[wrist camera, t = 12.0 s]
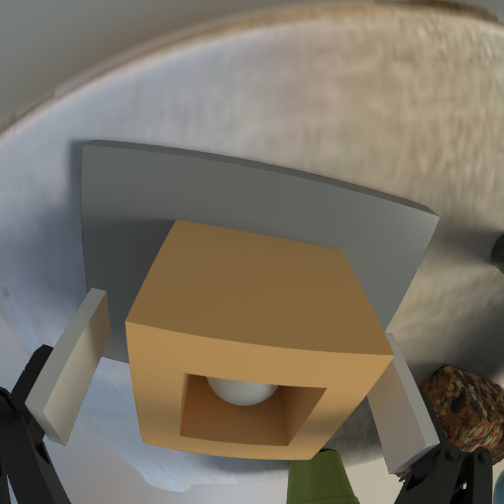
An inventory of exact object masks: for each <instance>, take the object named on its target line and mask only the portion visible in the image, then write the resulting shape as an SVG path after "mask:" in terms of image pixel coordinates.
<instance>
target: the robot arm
mask: <svg viewBox="0 0 504 504" xmlns="http://www.w3.org/2000/svg"><path fill="white" fill-rule="evenodd" d="M385 335H386V337H387V339H388V341H389V344H390V346H391V348H392V350H393V352H394V354H395V356H394V357H393V359H392V360H391V362H390V363H389V365H388V366H387V367H386V369H385V370H384V372H383V373H382V375H381V376H380V377H379V379H378V380H377V381H376V383H375V384H374V385H373V387H372V388H371V389H370V391H369V392H368V393H367V398H368V401H369V404H370V408H371V411H372V414H373V418H374V421H375V424H376V428H377V431H378V435H379V438H380V442H381V445H382V449H383V453H384V456H385V460H386V464H387V468H388V472H389V474H393V473H398V472H403V471H404V470H405V469H407V468H408V467H410V466H411V469H412V471H410V472H409V473H407V474H406V475H404V476H403V477H401V479H400V480H399V482H401V481H403V480H404V479H406V480H405V482H403V487H402V489H401V491H400V493H399V495H398V497H397V499H396V501H395V503H394V504H492V485H493V484H492V483H493V480H492V479H493V476H492V475H493V474H492V472H493V471H492V456H491V453H490V451H489V450H488V449H487V448H485V447H483V446H480V447H478V448H476V449H475V450H474V451H473V452H466V451H461V450H460V448H459V447H458V446H457V445H455V444H452V443H449V442H448V440H447V437H446V435H445V432H444V430H443V428H442V425H441V423H440V420H439V418H438V417H437V413H436V411H435V410H434V406H433V404H432V402H431V399H430V398H429V397H428V396H427V395H426V394H425V392H419V390H418V388H417V385H416V383H415V381H414V379H413V376H412V374H411V372H410V370H409V368H408V365H407V363H406V361H405V359H404V357H403V355H402V353H401V351H400V349H399V346H398V344H397V342H396V340H395V338H394V336H393V334H392V333H385ZM110 336H111V327H110V319H109V311H108V301H107V291H104V290H100V289H95V288H91V290H90V291H89V293H88V294H87V296H86V297H85V299H84V300H83V302H82V303H81V305H80V307H79V308H78V310H77V311H76V313H75V314H74V316H73V318H72V319H71V321H70V322H69V324H68V326H67V327H66V329H65V330H64V332H63V334H62V335H61V337H60V339H59V341H58V342H57V344H56V346H55V347H54V348H53V347H50V346H47V345H44V344H43V345H42V346H41V347H40V348H38V349H37V350H36V351H35V352H34V353H33V355H32V357H31V358H30V360H29V363H27V365H26V367H25V370H23V372H22V374H21V376H20V377H19V379H18V381H17V383H16V385H15V386H14V388H13V390H12V392H11V394H10V392H8V391H7V390H6V389H5V388H2V387H0V504H11V500H10V494H9V488H8V481H7V475H8V478H9V481H10V484H11V486H12V489H13V492H14V494H15V497H16V500H17V502H18V504H71V502H70V500H69V499H68V497H67V494H66V493H65V490H64V489H63V487H62V484H61V482H60V480H59V478H58V476H57V473H56V471H55V469H54V467H53V464H52V462H51V459H50V457H49V454H48V452H47V450H46V447H45V444H44V442H43V437H44V435H45V434H46V435H47V437H48V438H49V439H50V440H52V441H54V442H57V443H59V444H62V445H64V446H66V445H67V442H68V439H69V436H70V433H71V430H72V428H73V425H74V422H75V420H76V417H77V414H78V412H79V409H80V406H81V404H82V401H83V399H84V396H85V394H86V391H87V389H88V386H89V384H90V382H91V379H92V377H93V375H94V372H95V370H96V368H97V365H98V363H99V361H100V358H101V356H102V354H103V352H104V349H105V347H106V345H107V343H108V341H109V338H110ZM6 472H7V473H6ZM465 483H466V489H463V485H464V484H465ZM493 504H504V470H503V471H502V472H501V473H500V475H499V477H498V479H497V481H496V485H495V489H494V494H493Z"/></svg>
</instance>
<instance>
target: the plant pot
mask: <svg viewBox="0 0 504 504" xmlns="http://www.w3.org/2000/svg"><path fill="white" fill-rule="evenodd" d="M286 504H360V503H359V501H358V498H357V497H355V495H354V493H353V490H352V487H351V485H350V482H349V480H348V477H347V474H346V471H345V469H344V466H343V463H342V460H341V458H340V455H339V453H338V452H336V451H333V450H326V451H325V452H317V453H316V454H315V455H314V456H313V457H312V458H311V460H291V462H290V463H289V476H288V490H287V503H286Z"/></svg>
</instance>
